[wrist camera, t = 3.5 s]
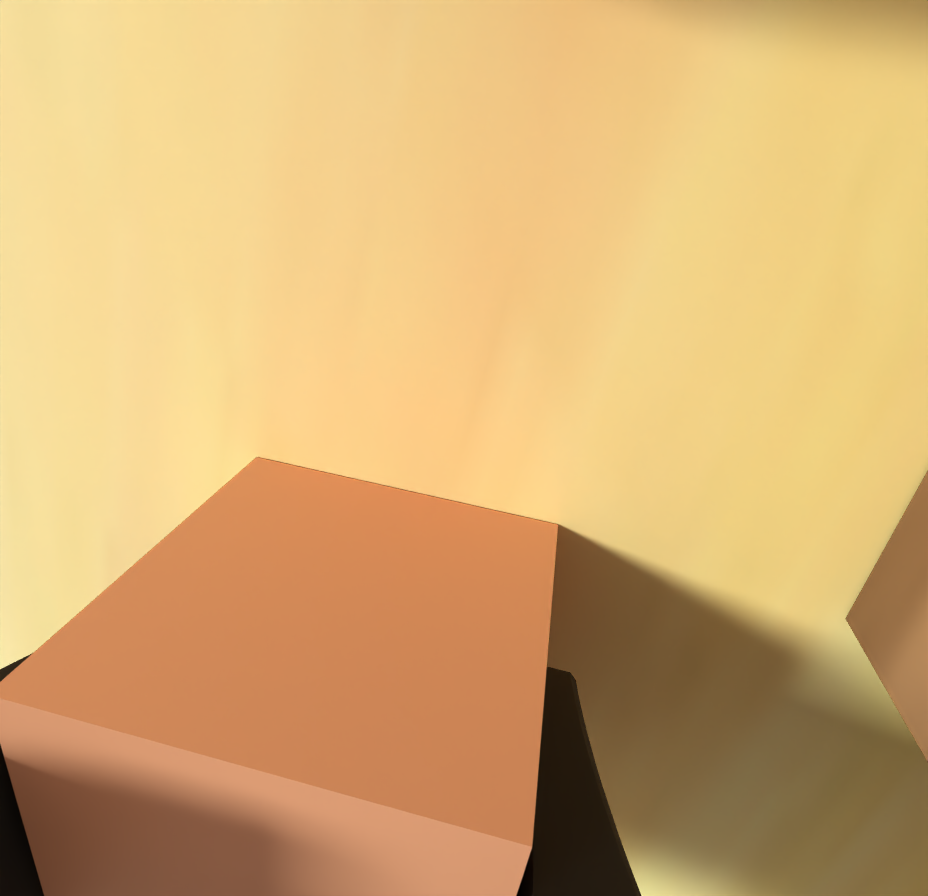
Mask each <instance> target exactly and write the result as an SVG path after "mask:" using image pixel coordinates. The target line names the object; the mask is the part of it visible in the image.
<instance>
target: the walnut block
mask: <svg viewBox="0 0 928 896" xmlns="http://www.w3.org/2000/svg"><path fill="white" fill-rule="evenodd" d="M846 620H847V622H848V624H849V626H850V627H851V629H852V631H853V633H854V634H855V636H856V638H857V640H858V641H859V643H860V645H861V647H862V648H863V650H864V652H865V654H866V655H867V657H868V659H869V661H870V662H871V664H872V666H873V668H874V669H875V671H876V673H877V674H878V676H879V678H880V680H881V681H882V683H883V685H884V687H885V688H886V690H887V692H888V694H889V695H890V697H891V699H892V701H893V702H894V704H895V706H896V708H897V709H898V711H899V713H900V715H901V716H902V718H903V720H904V722H905V723H906V725H907V727H908V729H909V730H910V732H911V734H912V736H913V737H914V739H915V741H916V743H917V744H918V746H919V748H920V750H921V751H922V753H923V755H924V757H925V758H926V760H927V762H928V471H927V473H926V475H925V477H924V478H923V480H922V482H921V484H920V486H919V487H918V489H917V491H916V493H915V495H914V496H913V498H912V500H911V502H910V504H909V505H908V507H907V509H906V511H905V513H904V514H903V516H902V518H901V520H900V522H899V523H898V525H897V527H896V529H895V531H894V532H893V534H892V536H891V538H890V540H889V541H888V543H887V545H886V547H885V549H884V550H883V552H882V554H881V556H880V558H879V559H878V561H877V563H876V565H875V567H874V568H873V570H872V572H871V574H870V576H869V577H868V579H867V581H866V583H865V585H864V586H863V588H862V590H861V592H860V594H859V595H858V597H857V599H856V601H855V603H854V604H853V606H852V608H851V610H850V612H849V614H848V615H847V617H846Z"/></svg>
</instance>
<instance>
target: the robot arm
mask: <svg viewBox="0 0 928 896" xmlns="http://www.w3.org/2000/svg"><path fill="white" fill-rule="evenodd" d="M32 654H33V653H32ZM32 654H30V655H32ZM30 655H28V656H26V657H24V658H22V659H20V660H18V661H16V662H14V663H12V664H10V665H8V666H6V667H4V668H2V669H0V682H1V681H2V680H3V679H4V678H5V677H6V676H8V675H9V674H10V673H11V672H12V671H13V670H14V669H16V668H17V667H18V666H19V665H20V664H21V663H22V662H24V661H25V660H26V659H27V658H28V657H29V656H30ZM0 896H44V893H43V890H42V886H41V883H40V880H39V876H38V873H37V869H36V866H35V862H34V859H33V855H32V852H31V848H30V845H29V841H28V838H27V835H26V831H25V828H24V824H23V821H22V817H21V814H20V810H19V807H18V803H17V800H16V796H15V793H14V790H13V786H12V783H11V779H10V776H9V772H8V769H7V765H6V762H5V758H4V755H3V751H2V748H1V745H0ZM516 896H641V894H640V891H639V888H638V886H637V883H636V881H635V878H634V875H633V873H632V870H631V868H630V865H629V862H628V860H627V857H626V854H625V851H624V848H623V846H622V843H621V840H620V837H619V835H618V832H617V829H616V826H615V823H614V820H613V817H612V814H611V811H610V808H609V805H608V802H607V799H606V796H605V793H604V790H603V787H602V783H601V780H600V777H599V774H598V770H597V767H596V764H595V760H594V757H593V753H592V749H591V746H590V742H589V739H588V735H587V731H586V727H585V723H584V719H583V715H582V710H581V706H580V701H579V696H578V691H577V685H576V680H575V679H574V677H573V676H572V674H571V673H570V672H566V671H562V670H558V669H554V668H550V667H547V669H546V681H545V694H544V706H543V718H542V731H541V743H540V756H539V768H538V781H537V793H536V806H535V818H534V830H533V843H532V849H531V852H530V855H529V858H528V861H527V864H526V867H525V871H524V874H523V877H522V880H521V883H520V886H519V889H518V892H517V895H516Z"/></svg>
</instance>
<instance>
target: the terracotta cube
mask: <svg viewBox="0 0 928 896" xmlns="http://www.w3.org/2000/svg"><path fill="white" fill-rule="evenodd" d="M557 532H558V524H553V523H549V522H544V521H540V520H535V519H531V518H526V517H522V516H517V515H513V514H508V513H504V512H499V511H495V510H491V509H486V508H482V507H477V506H473V505H468V504H464V503H459V502H455V501H450V500H446V499H441V498H437V497H432V496H428V495H424V494H419V493H415V492H410V491H406V490H401V489H397V488H392V487H388V486H383V485H379V484H374V483H370V482H365V481H361V480H357V479H352V478H348V477H343V476H339V475H334V474H330V473H325V472H321V471H316V470H312V469H307V468H303V467H298V466H294V465H290V464H285V463H281V462H276V461H272V460H267V459H263V458H258V457H256V458H255V459H254V460H253V461H251V462H250V463H249V464H248V465H247V466H246V467H245V468H243V469H242V470H241V471H240V472H239V473H238V474H237V475H235V476H234V477H233V478H232V479H231V480H230V481H229V482H227V483H226V484H225V485H224V486H223V487H222V488H221V489H219V490H218V491H217V492H216V493H215V494H214V495H213V496H212V497H210V498H209V499H208V500H207V501H206V502H205V503H204V504H202V505H201V506H200V507H199V508H198V509H197V510H196V511H194V512H193V513H192V514H191V515H190V516H189V517H188V518H186V519H185V520H184V521H183V522H182V523H181V524H180V525H178V526H177V527H176V528H175V529H174V530H173V531H172V532H170V533H169V534H168V535H167V536H166V537H165V538H164V539H163V540H161V541H160V542H159V543H158V544H157V545H156V546H155V547H153V548H152V549H151V550H150V551H149V552H148V553H147V554H145V555H144V556H143V557H142V558H141V559H140V560H139V561H137V562H136V563H135V564H134V565H133V566H132V567H131V568H129V569H128V570H127V571H126V572H125V573H124V574H123V575H122V576H120V577H119V578H118V579H117V580H116V581H115V582H114V583H112V584H111V585H110V586H109V587H108V588H107V589H106V590H104V591H103V592H102V593H101V594H100V595H99V596H98V597H96V598H95V599H94V600H93V601H92V602H91V603H90V604H88V605H87V606H86V607H85V608H84V609H83V610H82V611H81V612H79V613H78V614H77V615H76V616H75V617H74V618H73V619H71V620H70V621H69V622H68V623H67V624H66V625H65V626H63V627H62V628H61V629H60V630H59V631H58V632H57V633H55V634H54V635H53V636H52V637H51V638H50V639H49V640H47V641H46V642H45V643H44V644H43V645H42V646H41V647H39V648H38V649H37V650H36V651H35V652H34V653H33V654H32V655H30V656H29V657H28V658H27V659H26V660H25V661H24V662H22V663H21V664H20V665H19V666H18V667H17V668H16V669H14V670H13V671H12V672H11V673H10V674H9V675H8V676H6V677H5V678H4V679H3V680H2V681H1V682H0V745H1V748H2V751H3V755H4V758H5V762H6V765H7V769H8V772H9V776H10V779H11V783H12V786H13V790H14V793H15V796H16V800H17V803H18V807H19V810H20V814H21V817H22V821H23V824H24V828H25V831H26V835H27V838H28V841H29V845H30V848H31V852H32V855H33V859H34V862H35V866H36V869H37V873H38V876H39V880H40V883H41V886H42V890H43V893H44V896H516V895H517V892H518V889H519V886H520V883H521V880H522V877H523V874H524V871H525V867H526V864H527V861H528V858H529V855H530V852H531V849H532V843H533V830H534V818H535V806H536V793H537V781H538V768H539V756H540V743H541V731H542V718H543V706H544V694H545V681H546V669H547V656H548V644H549V631H550V619H551V607H552V594H553V582H554V569H555V557H556V544H557Z"/></svg>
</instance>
